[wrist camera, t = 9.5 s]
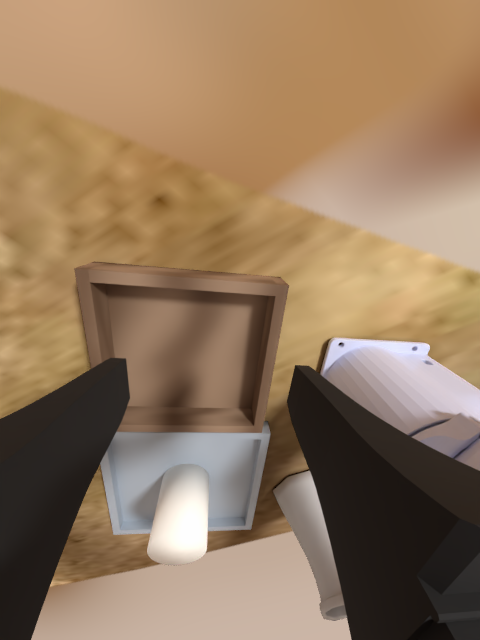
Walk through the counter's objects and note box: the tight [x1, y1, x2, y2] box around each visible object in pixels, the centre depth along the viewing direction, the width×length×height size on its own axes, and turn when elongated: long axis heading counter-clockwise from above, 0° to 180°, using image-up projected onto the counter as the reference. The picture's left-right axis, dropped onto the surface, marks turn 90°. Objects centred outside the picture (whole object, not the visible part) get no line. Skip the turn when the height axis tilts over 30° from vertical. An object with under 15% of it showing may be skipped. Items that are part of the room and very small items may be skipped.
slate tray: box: [100, 421, 271, 535], centre depth 26 cm, size 16×16×2 cm
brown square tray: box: [74, 262, 289, 433], centre depth 19 cm, size 14×14×2 cm
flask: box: [273, 471, 347, 621], centre depth 25 cm, size 7×7×10 cm
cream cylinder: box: [147, 464, 209, 565], centre depth 23 cm, size 5×5×6 cm
